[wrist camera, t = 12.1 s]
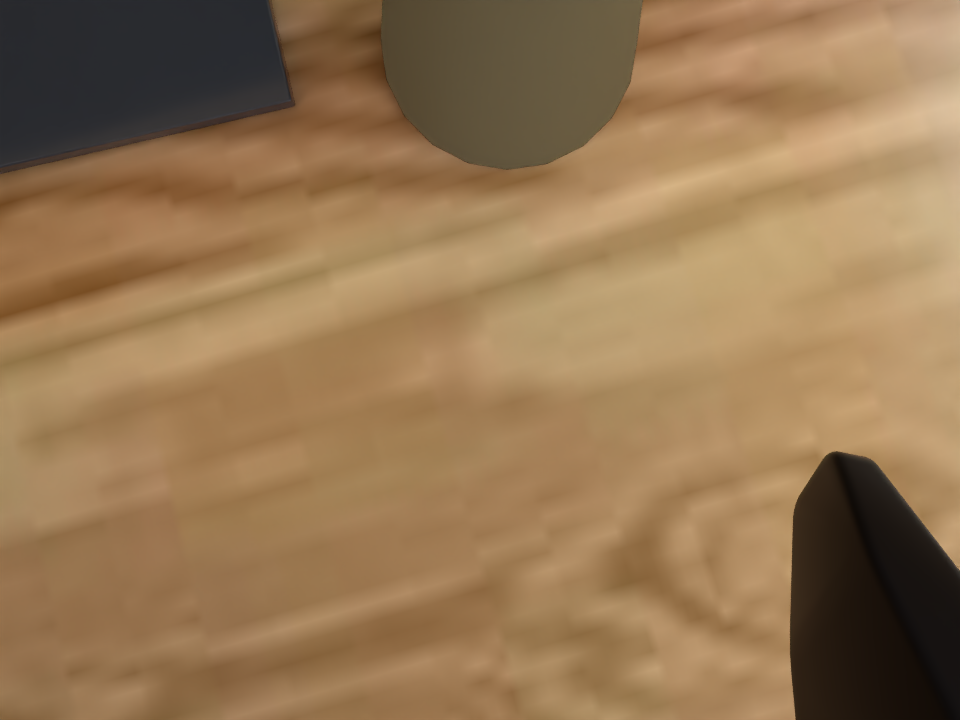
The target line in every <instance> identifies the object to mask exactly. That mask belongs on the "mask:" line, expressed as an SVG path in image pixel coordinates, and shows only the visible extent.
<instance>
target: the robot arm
mask: <svg viewBox="0 0 960 720" xmlns="http://www.w3.org/2000/svg"><path fill="white" fill-rule="evenodd" d="M790 658H791V674H792V685H793V695H794V706H795V717H796V720H960V571H959V569H958V568H957V567H956V565H955V564H954V563H953V562H952V560H951V559H950V558H949V556H948V555H947V554H946V553H945V551H944V550H943V549H942V547H941V546H940V545H939V544H938V542H937V541H936V540H935V538H934V537H933V536H932V535H931V533H930V532H929V531H928V529H927V528H926V527H925V526H924V524H923V523H922V522H921V520H920V519H919V518H918V517H917V515H916V514H915V513H914V511H913V510H912V509H911V508H910V506H909V505H908V504H907V502H906V501H905V500H904V499H903V497H902V496H901V495H900V493H899V492H898V491H897V489H896V488H895V487H894V486H893V484H892V483H891V482H890V480H889V479H888V478H887V477H886V475H885V474H884V473H883V471H882V470H881V469H880V468H879V466H878V465H877V464H876V463H875V462H874V461H872V460H871V459H869V458H867V457H863V456H858V455H853V454H848V453H843V452H838V451H836V452H831V453H829V454H828V455H826V456H825V458H824V459H823V460H822V462H821V463H820V465H819V466H818V468H817V469H816V471H815V472H814V474H813V475H812V477H811V478H810V480H809V482H808V483H807V485H806V486H805V488H804V489H803V491H802V492H801V494H800V496H799V497H798V500H797V502H796V505H795V509H794V515H793V540H792V577H791V614H790Z"/></svg>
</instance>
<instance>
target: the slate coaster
mask: <svg viewBox="0 0 960 720" xmlns="http://www.w3.org/2000/svg"><path fill="white" fill-rule="evenodd" d="M293 106H295V101H294V97H293V92H292V88H291V84H290V79H289V75H288V70H287V66H286V62H285V57H284V53H283V49H282V44H281V40H280V36H279V31H278V27H277V23H276V18H275V14H274V10H273V5H272V1H271V0H0V174H2V173H6V172H11V171H15V170H19V169H24V168H28V167H32V166H37V165H41V164H46V163H50V162H54V161H59V160H63V159H67V158H72V157H76V156H80V155H85V154H89V153H93V152H98V151H102V150H107V149H111V148H115V147H120V146H124V145H128V144H133V143H137V142H141V141H146V140H150V139H154V138H159V137H163V136H167V135H172V134H176V133H181V132H185V131H189V130H194V129H198V128H202V127H207V126H211V125H215V124H220V123H224V122H228V121H233V120H237V119H241V118H246V117H250V116H255V115H259V114H263V113H268V112H272V111H276V110H281V109H285V108H289V107H293Z"/></svg>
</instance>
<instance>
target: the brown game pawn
mask: <svg viewBox="0 0 960 720" xmlns="http://www.w3.org/2000/svg"><path fill="white" fill-rule="evenodd" d="M642 2H643V0H383V2H382V24H381V45H382V52H383V59H384V66H385V72H386V79H387V82H388V84H389V86H390V88H391V90H392V92H393V94H394V96H395V98H396V100H397V102H398V104H399V106H400V108H401V110H402V112H403V114H404V116H405V117H406V118H407V119H408V120H409V121H410V122H411V123H412V124H413V125H414V126H415V127H416V128H417V129H418V130H419V131H420V132H421V133H422V134H423V135H424V136H425V137H426V138H427V139H428V140H429V141H430V142H431V143H432V144H433V145H435V146H437V147H439V148H440V149H442V150H444V151H446V152H448V153H450V154H452V155H454V156H456V157H458V158H459V159H461V160H463V161H465V162H467V163H471V164H477V165H483V166H489V167H495V168H501V169H507V170H508V169H515V168H522V167H529V166H535V165H542V164H548V163H550V162H552V161H554V160H556V159H558V158H560V157H562V156H564V155H566V154H568V153H570V152H572V151H574V150H576V149H578V148H580V147H582V146H583V145H585V144H586V143H587V142H588V141H589V140H590V139H591V138H592V137H593V136H594V135H595V134H596V133H597V132H598V131H599V130H600V129H601V128H602V127H603V126H604V125H605V124H606V123H607V122H608V121H609V120H610V119H611V118H612V116H613V114H614V113H615V111H616V109H617V107H618V105H619V103H620V101H621V99H622V97H623V95H624V93H625V92H626V90H627V88H628V86H629V84H630V81H631V75H632V69H633V63H634V57H635V51H636V45H637V39H638V31H639V24H640V17H641V10H642Z"/></svg>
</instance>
